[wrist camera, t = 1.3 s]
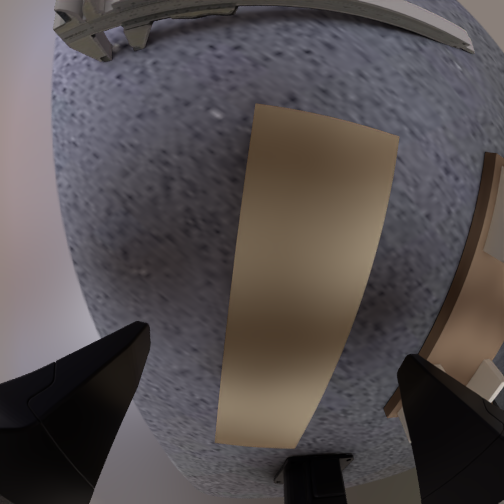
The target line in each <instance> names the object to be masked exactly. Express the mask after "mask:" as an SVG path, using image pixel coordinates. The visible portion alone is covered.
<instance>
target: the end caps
mask: <svg viewBox="0 0 504 504" xmlns="http://www.w3.org/2000/svg"><path fill="white" fill-rule="evenodd" d="M483 251H484V252H486V253H488V254H490V255H491V256H493V257H495V258H496V259H498V260H499V261H501V262H503V263H504V166H502V169H501V176H500V182H499V188H498V194H497V199H496V204H495V208H494V213H493V217H492V221H491V225H490V229H489V232H488V236H487V239H486V243H485V246H484V249H483ZM435 366H436V367H438V368H439V369H441V370H442V371H444V372H445V370H444V369H443V367H442V366H441V364H439V365H435ZM445 373H446V372H445ZM503 386H504V376H503V374H502V373H501V372H500V371H499V369H498V368H497V367H496V366H495V365H494V363H493V362H492V361H491V360H490V359H485V360H483V362H482V363H481V365H480V366H479V368H478V369H477V371H476V373H475V374H474V375H473V377H472V378H471V380H470V381H469V383H468V384H467V386H466V387H468V388H469V389H471V390H472V391H474V392H475V393H477V394H478V395H480V396H481V397H482V398H484V399H486V400H487V401H489V402H490V403H491V402H492V401H493V400H494V399H495V397H496V396H497V395H498V393H499V392H500V391H501V389H502V388H503ZM397 414H398V416H399V419H400V421H401V423H402V426H403V428H404V431H405V433H406V436H407V438H408V441H409V443H411V441H410V436H409V432H408V428H407V424H406V420H405V416H404V412H403V407H402V408H401V409H400V410H399V412H398V413H397Z"/></svg>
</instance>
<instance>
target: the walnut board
mask: <svg viewBox="0 0 504 504" xmlns="http://www.w3.org/2000/svg"><path fill="white" fill-rule="evenodd" d="M502 166H504V158H502V157H501V156H500V155H498V154H497V153H489V152H485V159H484V166H483V173H482V179H481V184H480V190H479V195H478V200H477V204H476V208H475V213H474V217H473V221H472V225H471V228H470V232H469V235H468V239H467V242H466V245H465V249H464V252H463V255H462V258H461V261H460V264H459V266H458V269H457V272H456V275H455V277H454V280H453V283H452V285H451V288H450V290H449V292H448V295H447V297H446V300H445V302H444V304H443V306H442V309H441V311H440V313H439V315H438V317H437V319H436V322H435V324H434V326H433V328H432V330H431V332H430V334H429V336H428V338H427V339H426V341H425V343H424V345H423V347H422V349H421V351H420V352H419V354H418V355H420V356H421V357H423V358H424V359H426V360H427V361H429V362H430V363H432V364H433V365H439V364H441V366H442V367H443V369H444V370H445V372H446V373H447V374H448V375H450V376H451V377H453V378H454V379H456V380H457V381H459V382H460V383H462V384H463V385H465V386H467V384H468V383H469V381H470V380H471V378H472V377H473V375H474V374H475V373H476V371H477V369H478V368H479V366H480V365H481V363H482V362H483V360H485V359H490V360H491V361H492V360H493V359H494V357H495V355H496V354H497V352H498V350H499V348H500V347H501V345H502V343H503V341H504V263H503V262H501V261H499V260H498V259H496V258H495V257H493V256H491V255H490V254H488V253H486V252H484V251H483V249H484V246H485V243H486V239H487V236H488V232H489V229H490V225H491V221H492V217H493V213H494V208H495V204H496V199H497V194H498V188H499V182H500V176H501V169H502ZM401 408H402V401H401V395H400V389H399V387H398V388H397V390H396V391H395V393H394V394H393V396H392V397H391V399H390V400H389V402H388V403H387V404H386V406H385V407H384V412H385V414H386V417H387V418H392V417H399V416H398V414H397V413H398V412H399V410H400V409H401Z"/></svg>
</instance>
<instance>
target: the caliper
mask: <svg viewBox="0 0 504 504" xmlns="http://www.w3.org/2000/svg"><path fill="white" fill-rule="evenodd" d="M238 6H287V7H301V8H311V9H319V10H326V11H333V12H339V13H345V14H350V15H355V16H359V17H364V18H368V19H372V20H376V21H380V22H383V23H387V24H390V25H393V26H397V27H400V28H403V29H406V30H409V31H411V32H414V33H417V34H420V35H422V36H425V37H427V38H430V39H432V40H435V41H437V42H440V43H443V44H446V45H449V46H452V47H455V48H458V49H459V48H462V49H463V50H465V51H467V52H469V53H471V54H475V51H474V48H473V45H472V42H471V39H470V38H469V37H468V34H467V32H466V30H464V29H462V28H461V27H459V26H457V25H455V24H454V23H452V22H450V21H448V20H446V19H444V18H442V17H440V16H438V15H436V14H434V13H432V12H430V11H428V10H426V9H423V8H421V7H419V6H417V5H414V4H412V3H409V2H407V1H404V0H56V3H55V8H54V10H55V12H56V14H55V20H54V26H53V30H54V31H55V32H56V33H57V34H58V36H59V37H60V38H61V39H62V40H63V41H64V42H65V43H66V44H67V45H68V46H69V47H70V48H72V49H74V50H76V51H79V52H81V53H83V54H85V55H87V56H89V57H91V58H94V59H96V60H98V61H101V62H102V61H110V60H112V44H111V43H110V42H109V40H108V39H107V37H106V35H105V33H104V32H103V31H106V30H109V29H112V28H115V27H118V26H122V27H123V28H124V33H125V36H126V38H127V40H128V42H129V44H130V46H131V47H133V48H134V51H137V50H140V49H143V48H145V45H146V42H147V39H148V36H149V33H150V30H151V27H152V24H153V21H158V20H162V19H167V18H172V19H197V18H202V17H206V16H211V15H222V16H229V15H234V14H236V11H237V9H238Z"/></svg>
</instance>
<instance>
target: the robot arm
mask: <svg viewBox="0 0 504 504" xmlns="http://www.w3.org/2000/svg"><path fill="white" fill-rule="evenodd" d="M150 345H151V341H150V327H149V324H148V323H144V322H140V321H136V322H133V323H131V324H129V325H127V326H126V327H124V328H122V329H120V330H118V331H116V332H114V333H112V334H110V335H107V336H105V337H103V338H101V339H99V340H98V341H95V342H93V343H91V344H90V345H87V346H85V347H83V348H81V349H79V350H77V351H75V352H73V353H71V354H69V355H67V356H65V357H63V358H61V359H59V360H57V361H56V363H55V362H53V363H51V364H49V365H47V366H44V367H42V368H40V369H38V370H36V371H33V372H31V373H28V374H26V375H23V376H21V377H18V378H15V379H12V380H9V381H7V382H4V383H1V384H0V504H89V503H90V500H91V497H92V495H93V492H94V488H95V486H96V484H97V481H98V479H99V476H100V474H101V471H102V469H103V466H104V464H105V461H106V459H107V456H108V454H109V451H110V449H111V446H112V444H113V442H114V439H115V437H116V435H117V432H118V430H119V428H120V425H121V423H122V421H123V418H124V416H125V414H126V412H127V409H128V407H129V405H130V403H131V401H132V398H133V396H134V394H135V392H136V389H137V387H138V384H139V381H140V378H141V375H142V372H143V369H144V366H145V363H146V359H147V356H148V353H149V350H150ZM397 379H398V384H399V389H400V395H401V401H402V407H403V412H404V416H405V420H406V424H407V428H408V432H409V436H410V441H411V445H412V450H413V455H414V460H415V465H416V470H417V476H418V482H419V488H420V495H421V499H422V500H421V503H422V504H504V411H503V410H502V409H500V408H498V407H497V406H495V405H494V404H492V403H490V402H489V401H487V400H486V399H484V398H482V397H481V396H480V395H478V394H477V393H475V392H474V391H472V390H471V389H469V388H468V387H466V386H465V385H463V384H462V383H460V382H459V381H457V380H456V379H454V378H453V377H451V376H450V375H448V374H447V373H445V372H444V371H442V370H441V369H439V368H438V367H436V366H435V365H433V364H432V363H430V362H429V361H427V360H426V359H424V358H423V357H421V356H420V355H418V354H408V355H407V356H406V357H405V359H404V361H403V363H402V364H401V366H400V368H399V370H398V372H397ZM353 459H354V457H353V455H339V456H321V457H290V458H288V459H287V460H286V462H285V463H284V465H283V466H282V468H281V469H280V471H279V472H278V473H277V475H276V476H275V478H274V483H284V504H347V499H346V493H345V487H344V481H343V476H342V470H343V469H344V468H345V467H346V466H347V465H348V464H349V463H350V462H351V461H352V460H353Z"/></svg>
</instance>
